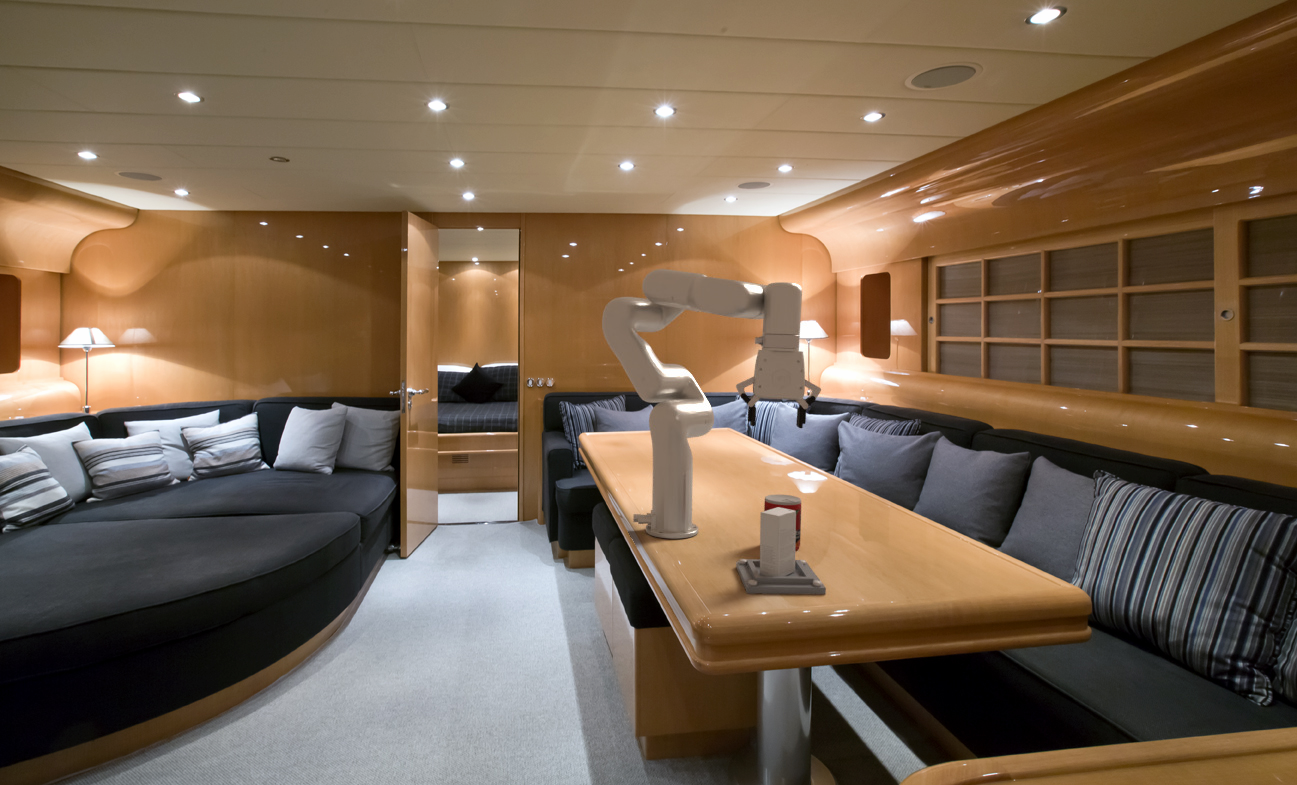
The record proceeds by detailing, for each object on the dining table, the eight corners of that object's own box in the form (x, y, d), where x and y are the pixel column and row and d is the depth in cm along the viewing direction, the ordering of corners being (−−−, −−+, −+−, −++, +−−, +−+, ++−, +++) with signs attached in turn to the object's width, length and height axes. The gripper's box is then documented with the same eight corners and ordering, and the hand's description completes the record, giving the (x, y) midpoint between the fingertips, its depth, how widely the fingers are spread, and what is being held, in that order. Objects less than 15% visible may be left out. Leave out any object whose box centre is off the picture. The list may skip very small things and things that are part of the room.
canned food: (800, 553, 137) (802, 503, 137) (763, 550, 139) (764, 500, 138) (799, 543, 145) (800, 495, 144) (763, 540, 147) (764, 493, 146)
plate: (747, 593, 114) (747, 581, 114) (736, 567, 128) (736, 556, 128) (825, 594, 114) (825, 582, 114) (806, 568, 128) (806, 557, 128)
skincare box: (776, 567, 125) (778, 506, 124) (795, 572, 122) (797, 510, 121) (758, 574, 120) (759, 511, 120) (777, 580, 117) (779, 516, 117)
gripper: (739, 342, 128) (735, 427, 129) (827, 345, 127) (822, 430, 129) (736, 342, 135) (732, 422, 137) (819, 345, 135) (814, 425, 136)
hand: (776, 426), depth 133 cm, fingers open, 9 cm apart
